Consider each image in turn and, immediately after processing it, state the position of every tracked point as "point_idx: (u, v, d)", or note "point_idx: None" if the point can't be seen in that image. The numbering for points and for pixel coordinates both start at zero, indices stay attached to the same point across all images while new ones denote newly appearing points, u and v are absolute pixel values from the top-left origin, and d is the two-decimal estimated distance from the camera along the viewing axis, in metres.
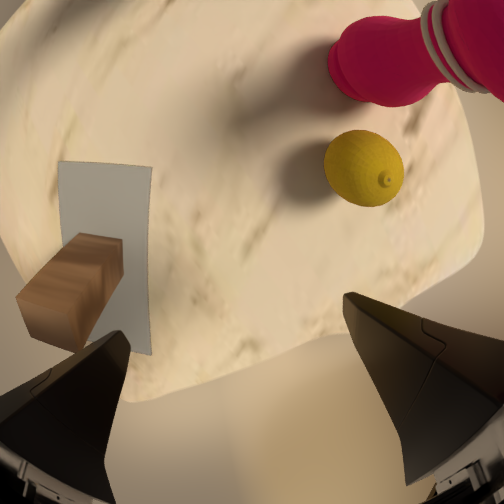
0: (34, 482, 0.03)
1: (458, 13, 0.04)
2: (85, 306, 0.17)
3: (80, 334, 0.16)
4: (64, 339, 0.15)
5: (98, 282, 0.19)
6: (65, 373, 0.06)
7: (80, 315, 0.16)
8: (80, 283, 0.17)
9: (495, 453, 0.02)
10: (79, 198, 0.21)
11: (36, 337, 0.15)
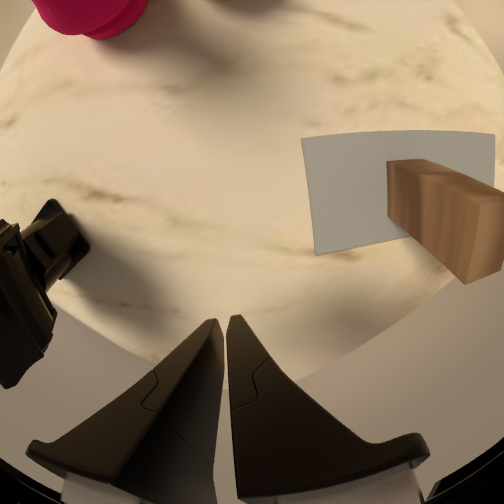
0: None
1: None
2: (465, 188, 0.12)
3: (495, 195, 0.10)
4: (503, 216, 0.10)
5: (437, 176, 0.14)
6: (183, 373, 0.06)
7: (476, 192, 0.11)
8: (443, 195, 0.13)
9: None
10: (352, 219, 0.22)
11: (501, 261, 0.12)
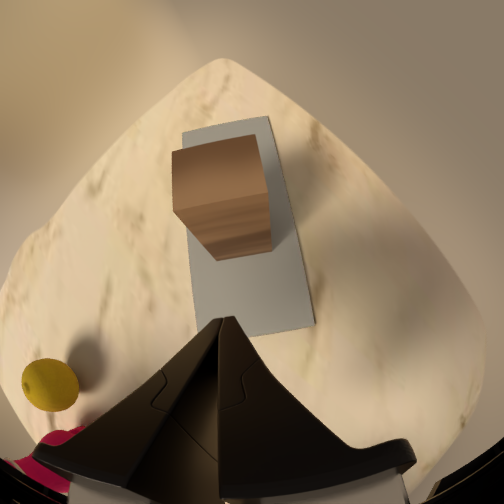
0: None
1: None
2: None
3: None
4: (188, 164, 0.14)
5: None
6: (193, 373, 0.06)
7: None
8: (200, 230, 0.17)
9: None
10: (275, 291, 0.23)
11: (243, 139, 0.15)
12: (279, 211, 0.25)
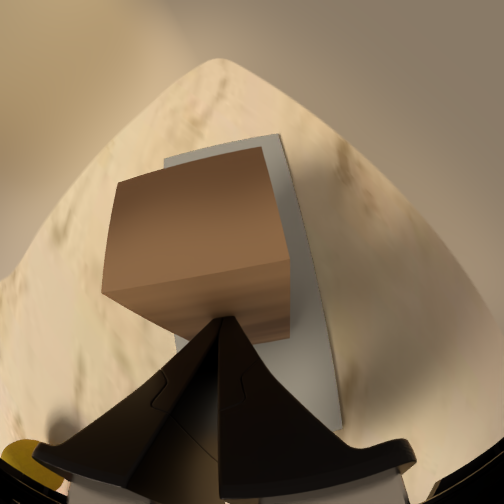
0: None
1: None
2: None
3: None
4: (139, 203, 0.08)
5: None
6: (193, 373, 0.06)
7: None
8: (168, 321, 0.09)
9: None
10: (294, 391, 0.15)
11: (239, 154, 0.08)
12: (300, 280, 0.18)
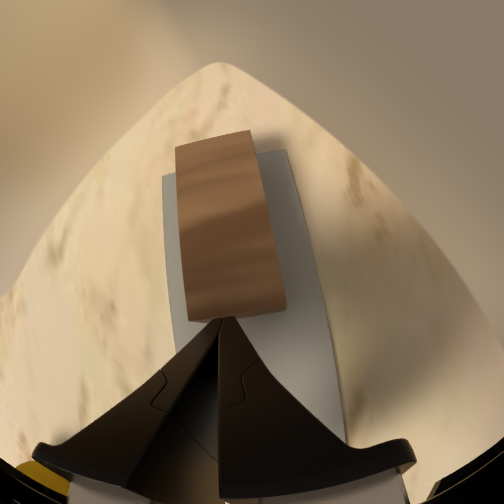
0: None
1: None
2: None
3: None
4: None
5: None
6: (193, 373, 0.06)
7: None
8: (185, 186, 0.15)
9: None
10: None
11: None
12: (308, 312, 0.17)
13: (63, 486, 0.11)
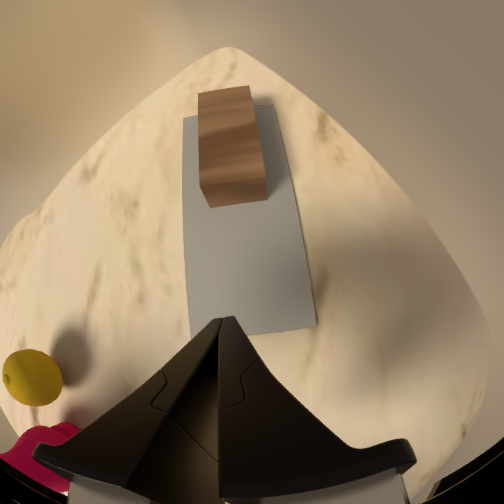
0: None
1: None
2: None
3: None
4: None
5: None
6: (193, 373, 0.06)
7: None
8: (204, 114, 0.22)
9: None
10: (276, 287, 0.21)
11: None
12: (283, 202, 0.23)
13: (56, 373, 0.18)
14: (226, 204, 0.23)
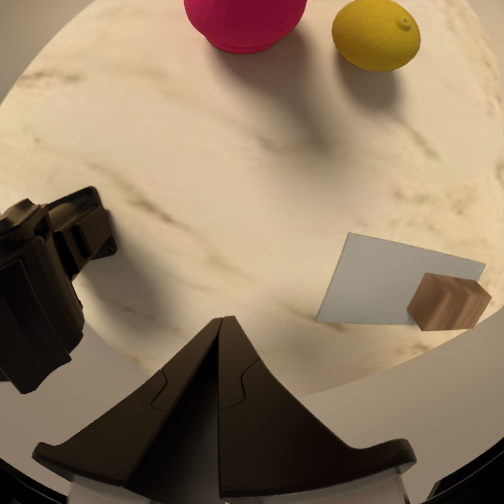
0: None
1: None
2: (477, 290, 0.24)
3: (477, 285, 0.25)
4: None
5: (468, 290, 0.23)
6: (193, 373, 0.06)
7: (480, 290, 0.24)
8: (477, 300, 0.23)
9: None
10: (354, 303, 0.26)
11: None
12: (398, 317, 0.28)
13: (370, 70, 0.14)
14: (420, 285, 0.26)
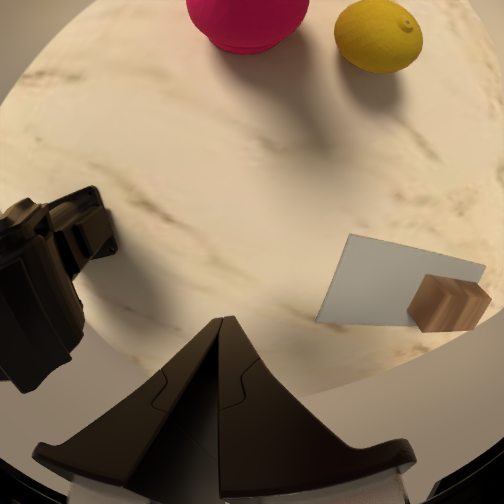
0: None
1: None
2: (477, 292, 0.24)
3: (477, 286, 0.25)
4: None
5: (468, 292, 0.23)
6: (193, 373, 0.06)
7: (480, 292, 0.24)
8: (478, 302, 0.23)
9: None
10: (355, 304, 0.26)
11: None
12: (398, 319, 0.28)
13: None
14: (421, 286, 0.26)
